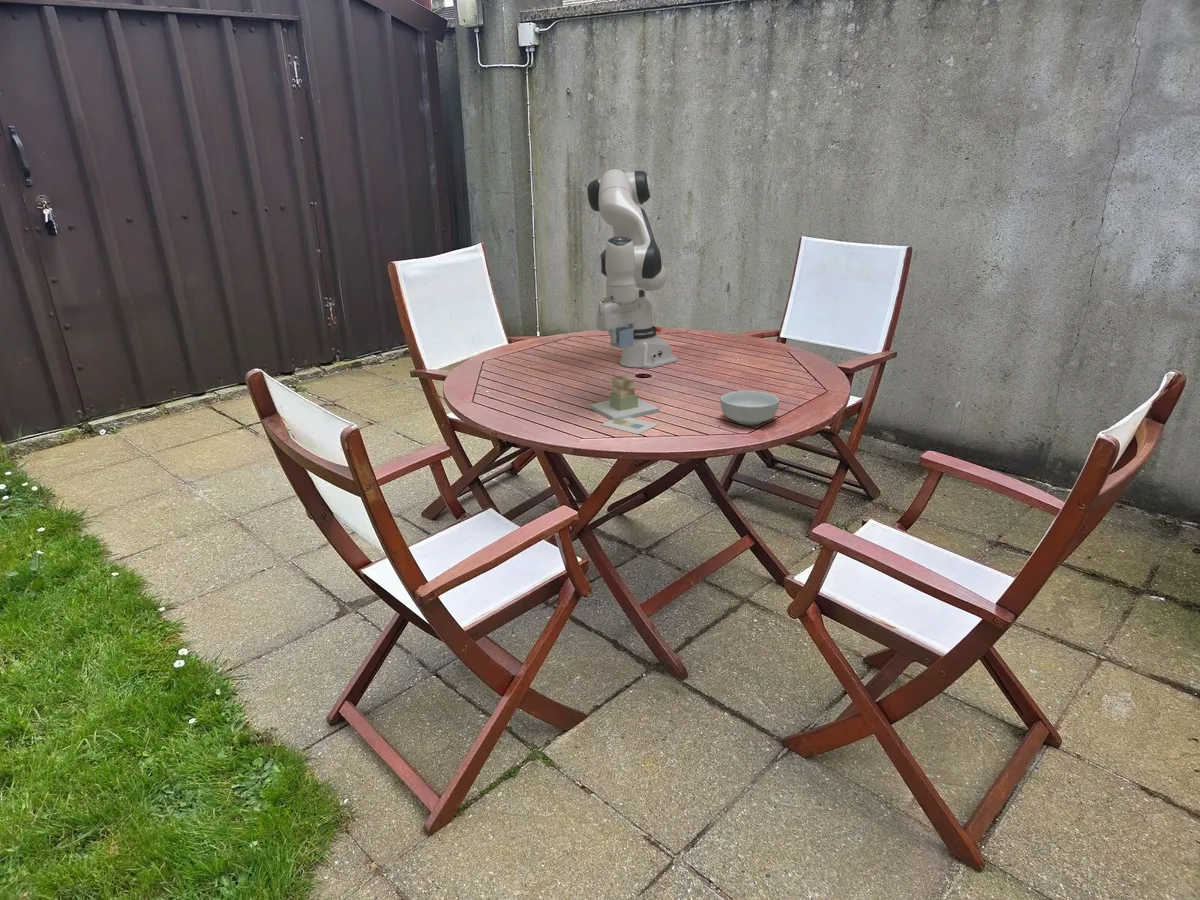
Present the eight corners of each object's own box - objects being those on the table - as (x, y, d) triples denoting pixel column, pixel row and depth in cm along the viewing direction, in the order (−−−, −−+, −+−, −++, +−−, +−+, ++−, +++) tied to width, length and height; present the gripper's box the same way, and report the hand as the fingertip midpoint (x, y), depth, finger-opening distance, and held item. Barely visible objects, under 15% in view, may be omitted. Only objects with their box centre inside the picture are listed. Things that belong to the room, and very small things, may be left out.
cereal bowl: (788, 418, 221) (789, 396, 218) (759, 434, 210) (760, 410, 207) (739, 408, 232) (740, 386, 229) (708, 422, 220) (709, 399, 218)
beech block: (626, 390, 235) (625, 375, 233) (634, 394, 231) (634, 379, 229) (612, 393, 233) (612, 378, 231) (620, 397, 229) (620, 381, 227)
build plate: (632, 399, 244) (631, 383, 242) (659, 411, 231) (659, 395, 229) (589, 408, 237) (588, 392, 235) (615, 421, 224) (614, 405, 222)
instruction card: (621, 416, 228) (621, 415, 228) (658, 424, 220) (658, 424, 220) (600, 425, 221) (600, 424, 221) (638, 434, 213) (638, 433, 213)
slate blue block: (624, 342, 229) (624, 326, 228) (633, 345, 225) (633, 329, 224) (610, 345, 227) (610, 328, 225) (619, 348, 223) (619, 331, 221)
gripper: (607, 300, 211) (608, 348, 216) (649, 290, 226) (649, 335, 231) (590, 298, 215) (592, 345, 220) (632, 288, 230) (633, 332, 235)
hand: (621, 340), depth 226 cm, fingers closed on slate blue block, 6 cm apart
